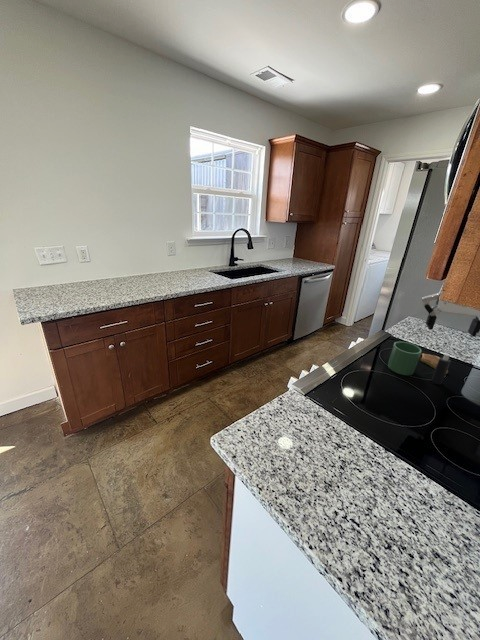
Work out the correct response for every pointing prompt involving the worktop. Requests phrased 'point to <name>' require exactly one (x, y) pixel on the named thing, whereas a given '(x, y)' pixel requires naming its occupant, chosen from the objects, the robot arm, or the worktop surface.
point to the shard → (430, 360)
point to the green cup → (404, 358)
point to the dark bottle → (441, 369)
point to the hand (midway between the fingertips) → (449, 330)
